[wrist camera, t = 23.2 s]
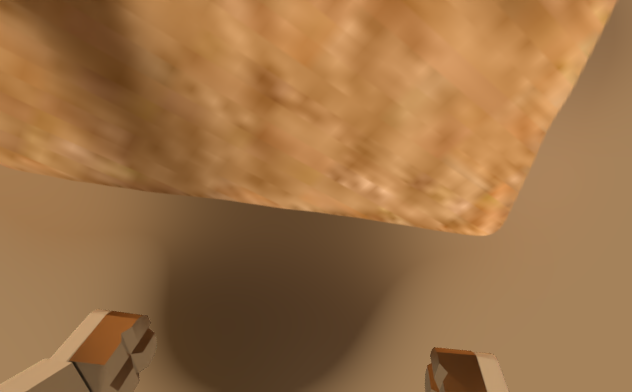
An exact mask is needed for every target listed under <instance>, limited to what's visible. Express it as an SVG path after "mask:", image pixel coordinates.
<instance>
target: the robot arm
mask: <svg viewBox="0 0 632 392" xmlns="http://www.w3.org/2000/svg"><path fill="white" fill-rule="evenodd" d="M150 324H151V322H150V320H149V317H148V316H147V315H139V314H131V313H124V312H117V311H110V310H101V309H96V310H94V311H93V312H91V313H90V314H89V315H88V316H87V317H86V318H85V319H84V320H83V322H82V323H81V324H80V325H79V326H78V327H77V329H75V331H74V332H73V333H72V334H71V335H70V336H69V337H68V339H67V340H66V341H65V342H64V343H63V344H62V346H61V347H60V348H59V349H58V350H57V351H56V352H55V353H54V355H53V356H52V357H51V358H50V359H43V360H41V361H40V362H38V363H36V364H34V365H33V366H31V367H29V368H28V369H26V370H24V371H22V372H21V373H19V374H17V375H16V376H14V377H12V378H10V379H8V380H7V381H5V382H3V383H1V384H0V392H133V391H134V390H135V388H136V386H137V384H138V383H139V372H141V371H142V370H144V369H145V368H146V367H148V366H149V364H150V362H151V360H152V359H153V357H154V354H155V350H156V347H157V338H156V335H155V333H154V332H153V331H152V330H151V329H149V328H148V327H149V325H150ZM430 357H431V364H429V365H427V369H426V374H425V391H426V392H509V390H508V387H507V384H506V381H505V379H504V376H503V373H502V370H501V368H500V365H499V362H498V359H497V358H496V357H495V356H494V354H491V353H480V352H472V351H467V350H456V349H446V348H435V347H434V348H433V349H432V351H431V355H430Z"/></svg>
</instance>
